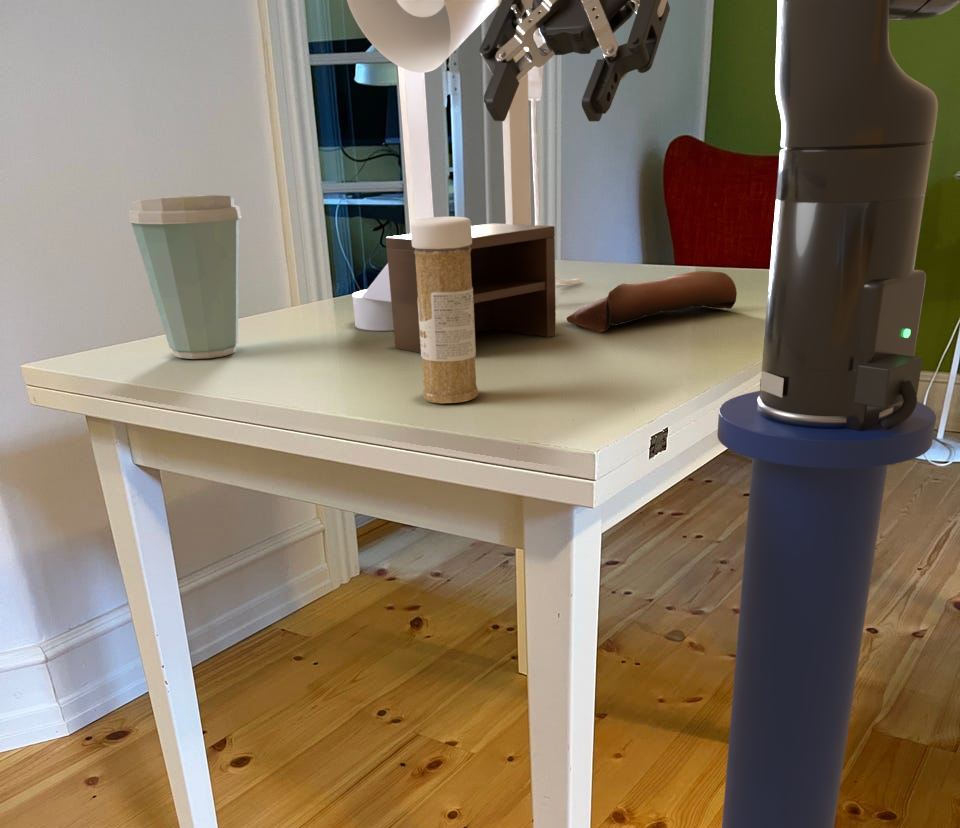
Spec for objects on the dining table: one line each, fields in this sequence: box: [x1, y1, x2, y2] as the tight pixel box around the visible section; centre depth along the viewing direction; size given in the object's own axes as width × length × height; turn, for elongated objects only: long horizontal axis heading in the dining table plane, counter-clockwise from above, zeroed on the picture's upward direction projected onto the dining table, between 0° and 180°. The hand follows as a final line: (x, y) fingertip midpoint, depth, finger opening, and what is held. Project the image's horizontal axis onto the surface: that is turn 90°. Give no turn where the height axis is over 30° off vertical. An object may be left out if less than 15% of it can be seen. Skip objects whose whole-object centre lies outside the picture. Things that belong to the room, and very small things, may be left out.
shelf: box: [385, 222, 557, 354], centre depth 98 cm, size 9×14×10 cm, turn 132°
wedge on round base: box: [352, 262, 394, 332], centre depth 109 cm, size 9×7×13 cm
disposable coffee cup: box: [128, 194, 243, 360], centre depth 98 cm, size 11×11×15 cm
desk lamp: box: [346, 0, 582, 286], centre depth 114 cm, size 21×32×45 cm, turn 137°
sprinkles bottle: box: [411, 216, 479, 404], centre depth 77 cm, size 5×5×14 cm
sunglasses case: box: [566, 270, 737, 333], centre depth 107 cm, size 18×7×7 cm, turn 123°
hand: (540, 114), depth 76 cm, fingers open, 8 cm apart
